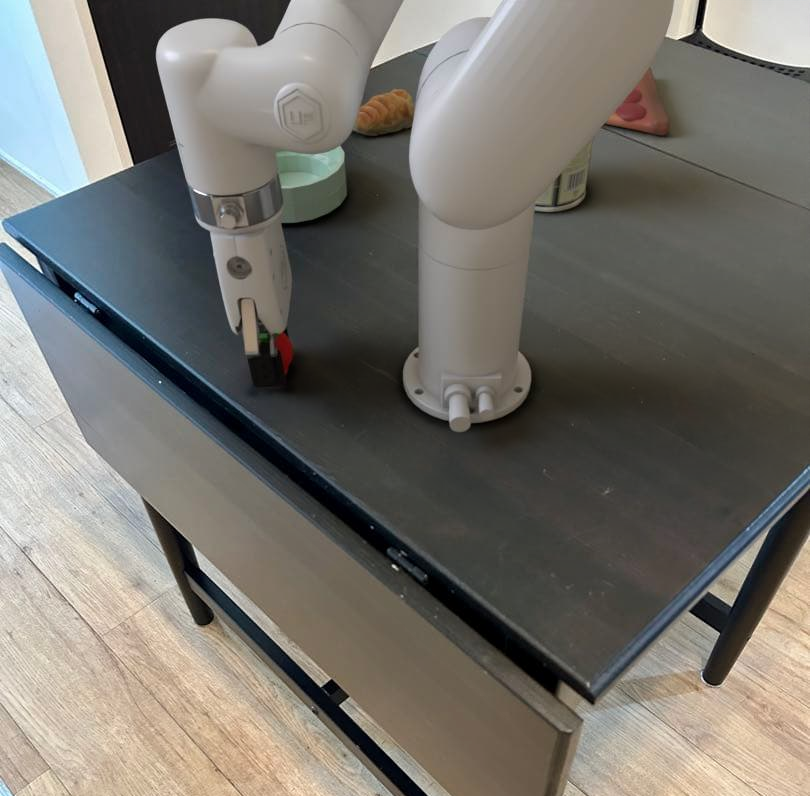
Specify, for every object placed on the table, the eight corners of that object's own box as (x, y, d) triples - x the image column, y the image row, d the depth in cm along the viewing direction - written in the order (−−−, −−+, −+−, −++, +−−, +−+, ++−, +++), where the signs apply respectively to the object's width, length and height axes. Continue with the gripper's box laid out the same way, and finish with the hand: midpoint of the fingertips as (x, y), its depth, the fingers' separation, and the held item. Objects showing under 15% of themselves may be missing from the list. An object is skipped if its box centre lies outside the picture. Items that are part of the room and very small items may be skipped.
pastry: (369, 145, 113) (367, 116, 110) (340, 127, 117) (337, 99, 114) (422, 124, 117) (422, 95, 114) (392, 108, 120) (391, 80, 117)
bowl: (345, 226, 101) (342, 186, 97) (228, 228, 101) (220, 189, 97) (348, 167, 110) (346, 129, 106) (241, 170, 110) (234, 131, 106)
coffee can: (519, 164, 109) (530, 48, 98) (595, 180, 106) (615, 62, 95) (491, 202, 103) (499, 83, 92) (570, 220, 101) (589, 99, 90)
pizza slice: (672, 121, 111) (522, 121, 112) (668, 138, 113) (520, 138, 114) (651, 63, 123) (516, 64, 124) (648, 79, 125) (515, 80, 126)
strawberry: (294, 384, 82) (286, 343, 78) (248, 386, 82) (238, 345, 78) (297, 355, 85) (290, 314, 81) (252, 356, 85) (243, 316, 81)
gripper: (272, 248, 64) (304, 424, 78) (289, 143, 74) (314, 314, 88) (175, 253, 64) (225, 427, 78) (205, 147, 74) (244, 317, 89)
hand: (272, 365), depth 83 cm, fingers closed on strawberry, 4 cm apart
